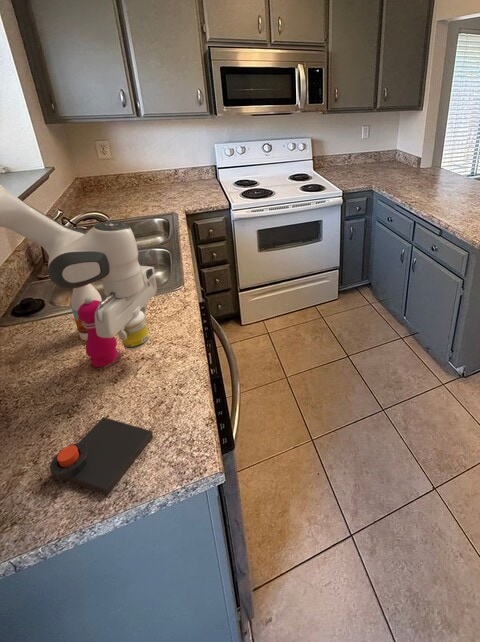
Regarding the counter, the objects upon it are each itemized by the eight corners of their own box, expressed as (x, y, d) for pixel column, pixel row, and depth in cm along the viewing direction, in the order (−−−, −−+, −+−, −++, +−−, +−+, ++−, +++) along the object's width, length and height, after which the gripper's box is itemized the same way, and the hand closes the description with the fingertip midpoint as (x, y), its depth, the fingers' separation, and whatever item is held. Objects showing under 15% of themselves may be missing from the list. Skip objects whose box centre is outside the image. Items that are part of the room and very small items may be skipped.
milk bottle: (75, 335, 109) (58, 278, 102) (102, 321, 114) (87, 266, 108) (87, 345, 104) (69, 286, 98) (114, 330, 110) (99, 274, 103)
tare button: (55, 465, 69) (53, 458, 68) (70, 449, 72) (68, 443, 71) (68, 469, 68) (65, 463, 67) (83, 453, 71) (81, 447, 70)
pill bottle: (124, 339, 97) (116, 304, 93) (149, 333, 100) (142, 299, 96) (122, 354, 92) (114, 318, 88) (149, 347, 94) (142, 311, 91)
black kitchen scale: (47, 481, 69) (41, 469, 68) (103, 422, 81) (99, 411, 79) (103, 502, 65) (98, 489, 64) (153, 437, 77) (150, 425, 76)
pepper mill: (104, 348, 103) (87, 288, 96) (125, 351, 102) (110, 291, 95) (83, 366, 97) (63, 304, 90) (106, 370, 95) (88, 307, 88)
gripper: (108, 308, 79) (119, 357, 84) (157, 264, 99) (164, 306, 103) (81, 306, 80) (94, 355, 85) (135, 263, 99) (144, 305, 104)
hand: (133, 328), depth 94 cm, fingers closed on pill bottle, 6 cm apart
